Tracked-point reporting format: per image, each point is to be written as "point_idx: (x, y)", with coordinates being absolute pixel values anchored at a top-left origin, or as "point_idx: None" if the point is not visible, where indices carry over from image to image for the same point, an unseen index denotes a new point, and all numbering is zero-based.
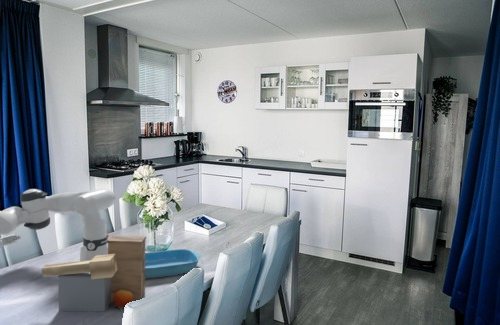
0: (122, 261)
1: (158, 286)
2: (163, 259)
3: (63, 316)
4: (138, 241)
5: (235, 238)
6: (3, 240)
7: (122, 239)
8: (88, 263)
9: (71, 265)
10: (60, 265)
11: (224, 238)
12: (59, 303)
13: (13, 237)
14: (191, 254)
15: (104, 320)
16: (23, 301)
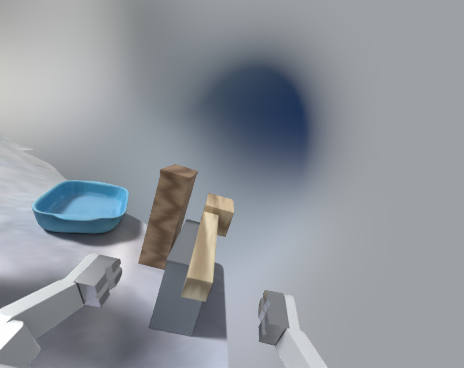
0: (185, 204)
1: (144, 227)
2: (55, 203)
3: (213, 322)
4: (197, 171)
5: (29, 160)
6: (267, 292)
7: (186, 172)
8: (217, 218)
9: (216, 235)
10: (209, 248)
11: (14, 161)
12: (195, 321)
13: (34, 317)
14: (87, 185)
15: (223, 273)
16: None
